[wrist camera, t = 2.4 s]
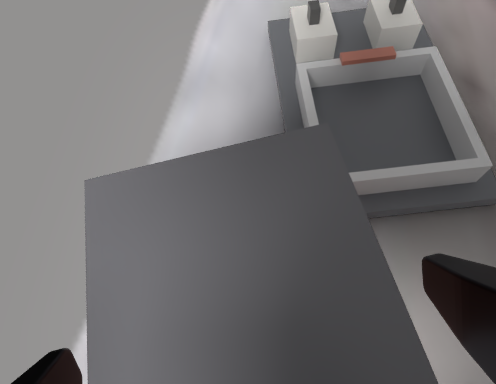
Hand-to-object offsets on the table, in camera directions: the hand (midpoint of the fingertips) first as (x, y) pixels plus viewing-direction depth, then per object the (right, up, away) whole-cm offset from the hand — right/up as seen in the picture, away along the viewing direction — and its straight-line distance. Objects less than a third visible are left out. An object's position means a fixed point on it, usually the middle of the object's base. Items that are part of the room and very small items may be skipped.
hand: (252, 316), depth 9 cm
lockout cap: (+1, -4, +7) cm, 8 cm away
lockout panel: (+7, +9, +13) cm, 17 cm away
